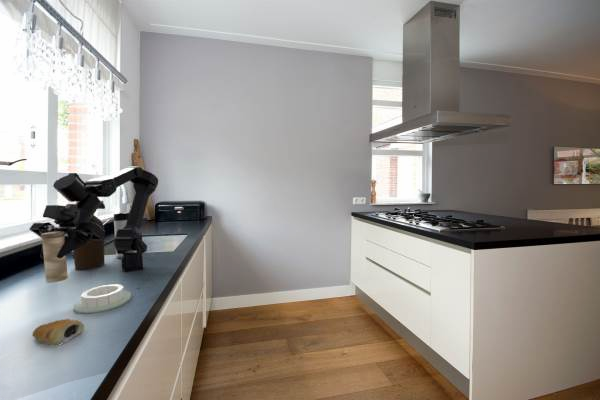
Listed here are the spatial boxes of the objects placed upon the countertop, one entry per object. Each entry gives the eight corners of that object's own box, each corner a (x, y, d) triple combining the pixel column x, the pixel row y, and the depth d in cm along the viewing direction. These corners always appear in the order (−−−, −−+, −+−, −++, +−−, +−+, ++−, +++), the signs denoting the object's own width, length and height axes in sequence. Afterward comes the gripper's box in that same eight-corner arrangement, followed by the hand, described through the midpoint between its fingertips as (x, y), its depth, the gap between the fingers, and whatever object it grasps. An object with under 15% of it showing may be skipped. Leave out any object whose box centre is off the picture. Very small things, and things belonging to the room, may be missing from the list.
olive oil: (112, 262, 116) (108, 202, 114) (95, 270, 106) (90, 204, 104) (85, 262, 116) (81, 203, 114) (66, 271, 105) (60, 205, 103)
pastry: (21, 344, 58) (20, 326, 58) (55, 327, 65) (54, 311, 65) (57, 348, 56) (56, 330, 56) (89, 331, 63) (88, 315, 63)
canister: (68, 275, 80) (64, 230, 79) (68, 279, 76) (64, 233, 75) (46, 279, 77) (41, 232, 76) (44, 284, 73) (40, 235, 72)
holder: (129, 289, 86) (128, 278, 86) (132, 304, 76) (131, 292, 75) (76, 300, 79) (75, 288, 79) (71, 318, 68) (70, 305, 68)
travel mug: (115, 259, 120) (112, 213, 118) (117, 256, 126) (114, 212, 124) (132, 257, 123) (129, 212, 121) (133, 254, 128) (130, 211, 127)
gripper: (33, 194, 79) (-9, 241, 69) (94, 193, 78) (60, 241, 67) (61, 217, 88) (27, 262, 77) (117, 217, 86) (90, 263, 76)
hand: (50, 257), depth 74 cm, fingers closed on canister, 4 cm apart
